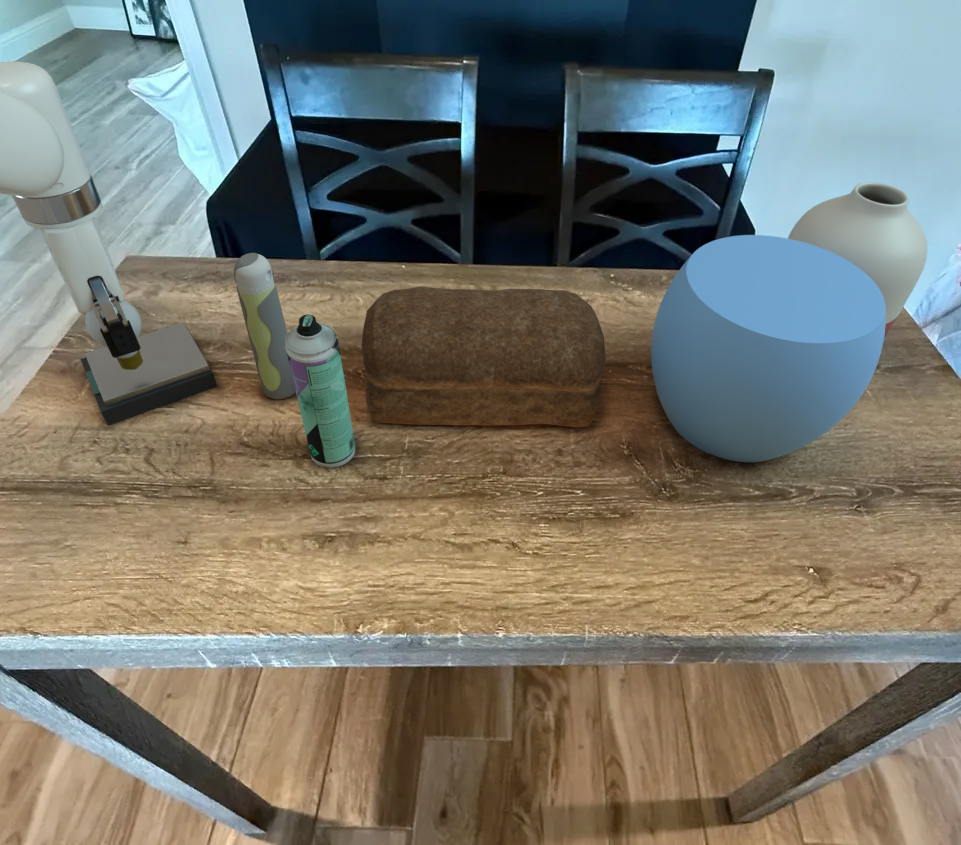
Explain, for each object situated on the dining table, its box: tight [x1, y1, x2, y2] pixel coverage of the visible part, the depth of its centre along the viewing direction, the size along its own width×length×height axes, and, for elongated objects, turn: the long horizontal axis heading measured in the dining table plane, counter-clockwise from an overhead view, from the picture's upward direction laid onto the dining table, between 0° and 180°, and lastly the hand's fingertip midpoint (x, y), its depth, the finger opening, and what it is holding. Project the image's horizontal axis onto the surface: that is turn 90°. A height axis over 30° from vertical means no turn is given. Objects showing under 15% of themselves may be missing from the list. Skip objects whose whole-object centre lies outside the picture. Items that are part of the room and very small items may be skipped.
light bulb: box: [84, 298, 143, 370], centre depth 82 cm, size 6×6×10 cm
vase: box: [787, 181, 928, 340], centre depth 92 cm, size 17×17×24 cm
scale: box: [80, 322, 219, 427], centre depth 90 cm, size 14×12×4 cm
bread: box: [361, 286, 606, 428], centre depth 87 cm, size 17×30×13 cm, turn 90°
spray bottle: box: [233, 252, 296, 400], centre depth 84 cm, size 5×5×20 cm
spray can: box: [285, 314, 356, 469], centre depth 76 cm, size 6×6×20 cm
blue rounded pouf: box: [650, 234, 886, 463], centre depth 82 cm, size 25×25×20 cm
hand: (119, 336), depth 82 cm, fingers closed on light bulb, 5 cm apart
